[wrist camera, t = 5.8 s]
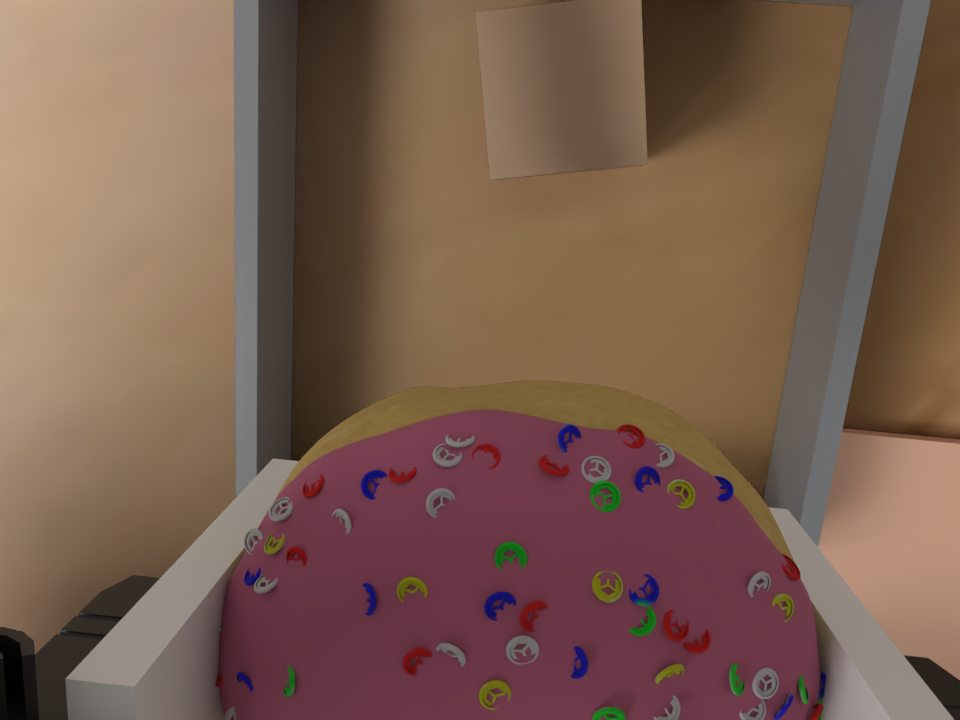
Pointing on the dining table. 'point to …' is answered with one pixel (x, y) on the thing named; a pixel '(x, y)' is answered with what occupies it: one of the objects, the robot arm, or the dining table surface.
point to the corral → (825, 290)
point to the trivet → (900, 537)
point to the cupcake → (517, 571)
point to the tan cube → (563, 87)
